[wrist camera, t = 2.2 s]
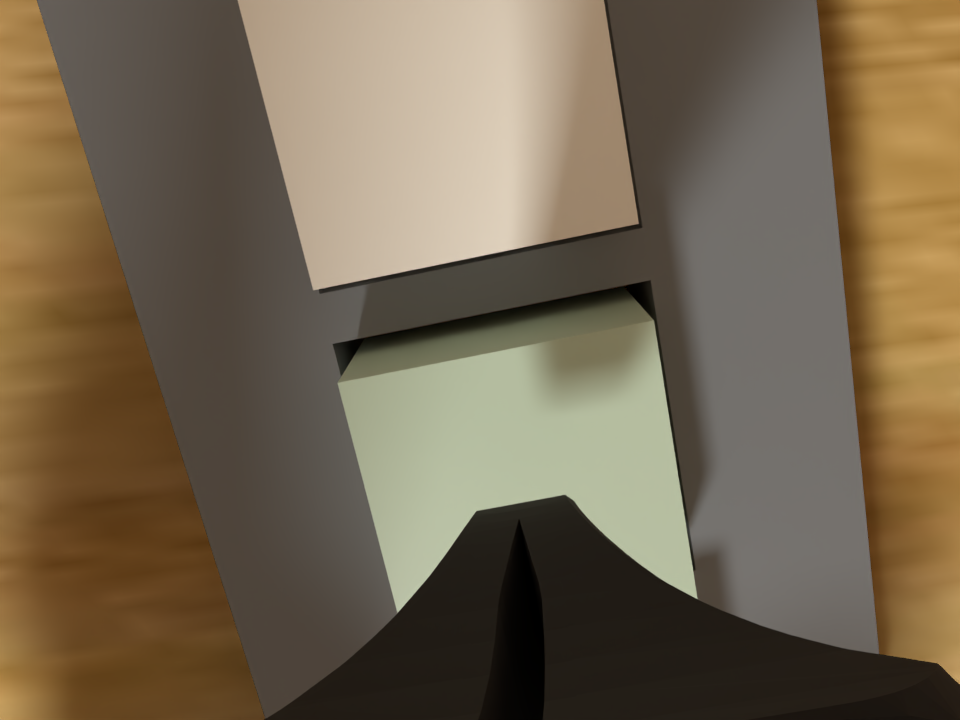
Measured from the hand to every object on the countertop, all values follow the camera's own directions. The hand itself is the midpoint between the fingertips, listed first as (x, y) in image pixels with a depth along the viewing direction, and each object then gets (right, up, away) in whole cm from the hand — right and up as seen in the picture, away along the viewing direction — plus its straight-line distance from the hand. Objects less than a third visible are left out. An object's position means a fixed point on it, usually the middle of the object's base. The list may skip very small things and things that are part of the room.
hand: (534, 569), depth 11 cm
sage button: (0, +1, +5) cm, 5 cm away
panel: (0, +2, +7) cm, 7 cm away
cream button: (-1, +7, +4) cm, 8 cm away
